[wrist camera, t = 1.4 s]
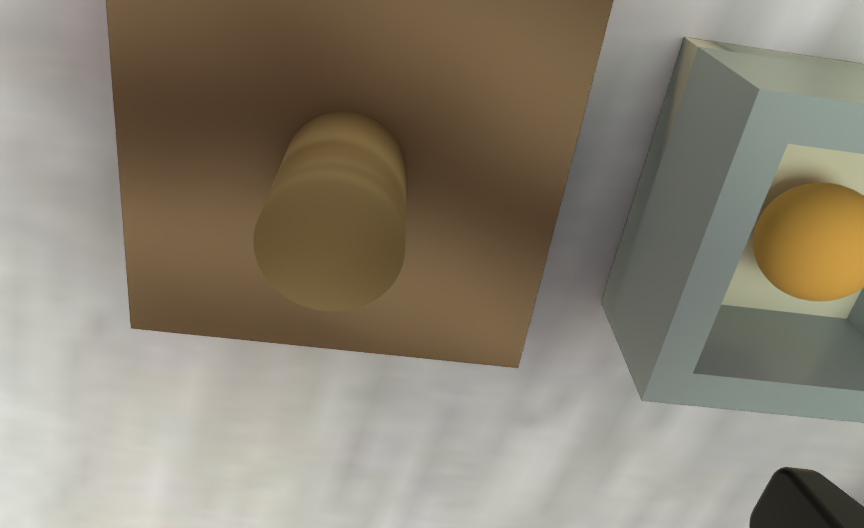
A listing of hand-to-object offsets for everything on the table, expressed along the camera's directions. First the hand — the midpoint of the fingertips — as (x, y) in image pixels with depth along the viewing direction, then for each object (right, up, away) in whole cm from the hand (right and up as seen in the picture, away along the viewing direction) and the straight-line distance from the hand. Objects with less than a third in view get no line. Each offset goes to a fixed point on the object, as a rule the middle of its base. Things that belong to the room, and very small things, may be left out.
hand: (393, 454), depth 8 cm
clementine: (+10, +3, +10) cm, 15 cm away
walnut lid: (-2, +5, +11) cm, 12 cm away
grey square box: (+10, +4, +12) cm, 16 cm away
